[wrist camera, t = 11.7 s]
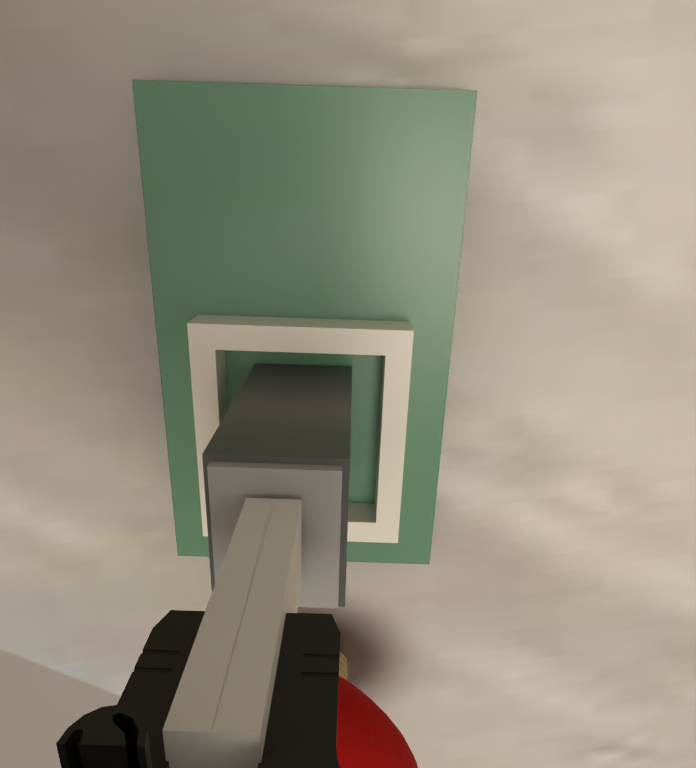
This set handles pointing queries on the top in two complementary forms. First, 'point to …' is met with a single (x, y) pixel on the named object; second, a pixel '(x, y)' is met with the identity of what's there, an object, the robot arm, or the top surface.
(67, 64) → the top surface
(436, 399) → the board
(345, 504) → the plug
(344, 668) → the light bulb
